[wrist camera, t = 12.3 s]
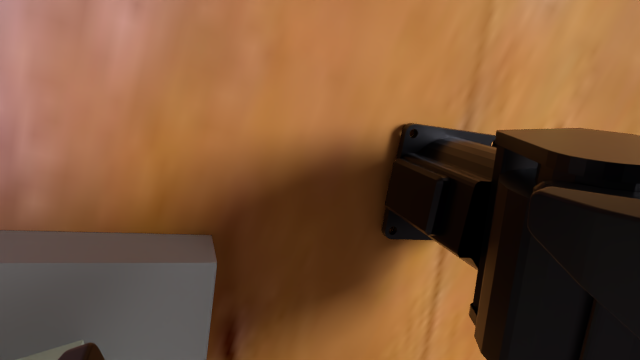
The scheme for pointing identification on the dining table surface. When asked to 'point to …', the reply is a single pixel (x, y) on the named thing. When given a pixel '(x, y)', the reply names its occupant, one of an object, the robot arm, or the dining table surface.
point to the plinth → (106, 293)
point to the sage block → (53, 352)
